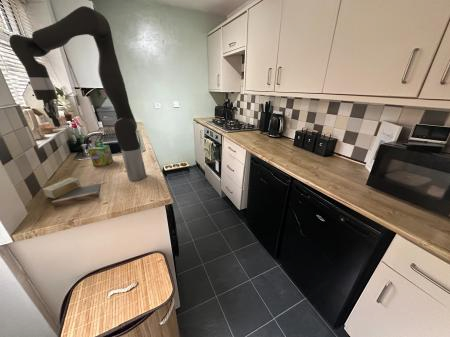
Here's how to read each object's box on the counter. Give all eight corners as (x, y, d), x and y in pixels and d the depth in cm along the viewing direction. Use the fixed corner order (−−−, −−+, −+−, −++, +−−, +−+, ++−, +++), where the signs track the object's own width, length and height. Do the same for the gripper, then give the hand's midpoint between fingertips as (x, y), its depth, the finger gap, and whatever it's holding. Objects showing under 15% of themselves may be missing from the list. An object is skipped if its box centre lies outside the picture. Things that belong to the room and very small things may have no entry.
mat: (100, 184, 96) (100, 183, 96) (98, 194, 86) (98, 194, 86) (62, 191, 89) (61, 191, 89) (55, 204, 79) (55, 203, 79)
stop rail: (98, 195, 86) (97, 191, 85) (98, 197, 84) (96, 192, 83) (55, 205, 79) (52, 200, 78) (54, 207, 77) (51, 202, 76)
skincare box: (73, 184, 95) (45, 196, 84) (70, 177, 93) (41, 188, 82) (81, 186, 93) (54, 199, 82) (79, 179, 91) (50, 191, 80)
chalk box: (93, 166, 117) (86, 144, 111) (99, 161, 125) (92, 140, 119) (108, 165, 119) (102, 143, 113) (113, 160, 127) (108, 139, 121)
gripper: (50, 88, 80) (64, 128, 87) (57, 88, 90) (70, 123, 98) (27, 88, 77) (43, 129, 84) (37, 88, 87) (52, 125, 94)
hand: (57, 126), depth 91 cm, fingers closed
